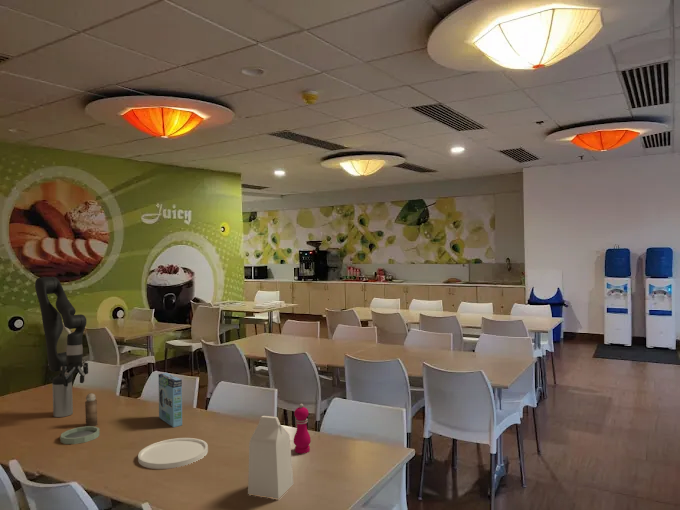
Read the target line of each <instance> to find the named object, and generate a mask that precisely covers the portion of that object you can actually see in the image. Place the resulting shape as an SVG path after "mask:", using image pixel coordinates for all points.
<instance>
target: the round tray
mask: <svg viewBox="0 0 680 510" xmlns="http://www.w3.org/2000/svg"><path fill="white" fill-rule="evenodd" d="M99 437H100V427H97V426H86V425H85V426H79V427H74V428H72V429H67V430H66V431H63V432H61V434H60V438H59V439H60V443H61V444H64V445H77V444H83V443H87V442H91V441H94V440H95V439H98V438H99Z"/></svg>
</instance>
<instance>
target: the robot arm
mask: <svg viewBox="0 0 680 510" xmlns="http://www.w3.org/2000/svg"><path fill="white" fill-rule="evenodd" d="M34 286H35V288H34V289H35V292H36V298H37V299H38V300H37V301H38V303H39V309H40V313H41V320H42V326H43V331H44V338H45V344H46V353H47V354H46V356H47V364H48V365H47V366H48V368H49V370H50V371H51V372H54V373H55V372H59V374H58V375H56V376H54V377H53V378H52V381H51V382H52V384H51V385H52V410H53V411H52V412H53V415H52V416H53V418H63V417H64V418H65V417H68V416H71V415H73V413H74V411H73V410H74V405H73V403H74V402H73V401H74V400H73V375H74V374H75V373H77V374H79V383H81V384H84V382H85V376H86V375H88V374H89V363H88V362H83V358H84V357H83V349H84V347H83V337H84V336H83V335H84V332H85V329H86V326H87V317H86V316H85V315H84V314H76V308H75V307H74V305H72V303H71V302H70V300H69V299H68V297H67V295H66V293H65V290H64V287H63V286H62V283H61V281H60V279H58V277H55V276H47V277H37V278H36V279H35V282H34ZM52 294H54V295H55V296H56V299H55V306H53V304H52V303H51V302H50V300H49V296H48V295H52ZM64 327H65V328H66V329H67V330H72V329H75V330H74V331H73V332H71V333H68V335H67V337H66V342H67V343H66V351H64V352H58V351H57V350H58V347H57V346H58V342H59V339H60V338H61V335H62V334H63V333H62V332H63V329H64Z"/></svg>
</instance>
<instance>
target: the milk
mask: <svg viewBox="0 0 680 510" xmlns="http://www.w3.org/2000/svg"><path fill="white" fill-rule="evenodd" d="M248 444H249V445H248V479H247V481H248V482H247V484H248V485H247V486H248V487H247V495H248V494H253V495H260V496H266V497H273V498H278V499H279V498H280V497H281V496H282V495H283V494H284V493H285V492H286V491H287V490H288V489H289V488H290V487H291V486H292V485H293V484H294V472H293V461H292V450H291V449H292V448H291V438H290V433H289V432H288V431H287V430H286V428H284V426H282V425H281V423H280V420H279V418H278V416H271V415H270V416H268V415H262V416H260V418H259V421H258V424H257V426H256V428H255V429H254V432H253V433H252V435H251V437H250V439H249V443H248ZM287 492H288V491H287ZM287 492H286V493H287ZM286 493H285V494H286ZM285 494H284V495H285ZM284 495H283V496H284ZM283 496H282V497H283ZM282 497H281V498H282ZM281 498H280V499H281ZM280 499H279V500H280Z"/></svg>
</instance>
